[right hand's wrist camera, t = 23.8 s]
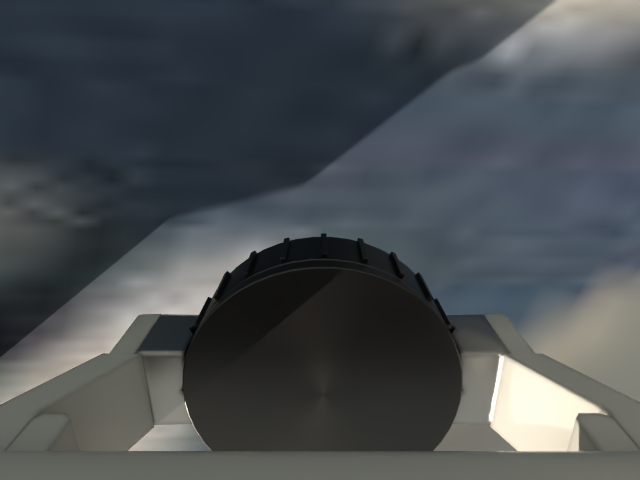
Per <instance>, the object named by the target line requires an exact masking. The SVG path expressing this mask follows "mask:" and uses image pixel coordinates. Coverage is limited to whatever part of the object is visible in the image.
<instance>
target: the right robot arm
mask: <svg viewBox="0 0 640 480" xmlns="http://www.w3.org/2000/svg"><path fill="white" fill-rule="evenodd" d="M198 316H199V315H169V314H164V315H162V314H143V315H139V316H138V317H137V318H136V319H135V321H134V322H133V323H132V324H131V326H130V327H129V328H128V330H127V331H126V332H125V334H124V335H123V336H122V338H121V339H120V340H119V342H118V343H117V344H116V345H115V347H114V348H113V349H112V351H111V352H110V353H109V354H101V355H99V356H97V357H95V358H93V359H91V360H89V361H87V362H85V363H83V364H81V365H79V366H77V367H75V368H73V369H71V370H69V371H67V372H65V373H63V374H61V375H59V376H57V377H55V378H53V379H51V380H49V381H47V382H45V383H43V384H41V385H39V386H37V387H35V388H33V389H31V390H29V391H27V392H25V393H23V394H21V395H19V396H17V397H15V398H13V399H11V400H9V401H7V402H5V403H3V404H1V405H0V480H640V402H638V401H636V400H634V399H632V398H630V397H628V396H626V395H624V394H622V393H620V392H618V391H616V390H614V389H612V388H610V387H608V386H606V385H604V384H602V383H600V382H598V381H596V380H594V379H592V378H590V377H588V376H586V375H584V374H582V373H580V372H578V371H576V370H574V369H572V368H570V367H568V366H566V365H564V364H562V363H560V362H558V361H556V360H554V359H552V358H550V357H548V356H546V355H544V354H535V352H534V351H533V350H532V349H531V347H530V346H529V345H528V343H527V342H526V341H525V340H524V338H523V337H522V336H521V335H520V333H519V332H518V331H517V329H516V328H515V327H514V326H513V324H512V323H511V322H510V320H509V319H508V318H507V317H506V316H505V315H503V314H487V315H446V316H447V318H448V320H449V322H450V324H451V326H452V329H449V331H450V333H451V335H452V337H453V339H454V340H455V343H456V346H457V349H458V352H459V354H460V359H461V365H462V370H463V388H462V395H461V401H460V405H459V408H458V411H457V414H456V417H455V419H454V421H453V423H452V424H479V425H491V428H492V429H494V430H495V431H496V432H497V433H498V434H499V435H500V436H502V437H503V438H504V439H505V440H506V441H507V442H508V443H509V444H511V445H512V446H513V447H514V448H515V449H516V450H517V451H128V450H129V449H130V448H131V447H132V446H133V445H134V444H135V443H137V442H138V441H139V440H140V439H141V438H142V437H143V436H144V435H145V434H147V433H148V432H149V431H150V430H151V429H152V428H153V427H154V425H165V424H192V422H191V420H190V418H189V415H188V412H187V409H186V405H185V402H184V395H183V387H182V380H183V367H184V362H185V356H186V353H187V351H188V348H189V345H190V342H191V340H192V338H193V336H194V334H195V332H196V330H197V328H196V327H194V324H195V322H196V320H197V318H198Z"/></svg>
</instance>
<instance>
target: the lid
mask: <svg viewBox="0 0 640 480" xmlns="http://www.w3.org/2000/svg"><path fill="white" fill-rule="evenodd" d="M433 299H434V298H433V296H432V295H431V293H430V291H429V289H428V287H427V285H426V283H425V281H424V279H423V277H422V276H421V274H420V273H417V274H416V275H415V274H414V273H413V272H412V271H411V270H410V269H409V268H408V267H407V266H406V265H405V264H403V263H402V262H400V261H399V260H398V258H397V256H396V254H395V253H393V252H391V253H390V254H388V253H386V252H384V251H382V250H381V249H378V248H376V247H373V246H370V245H368V244H365V243H364V242H363V239H360V238H358V240H357V241H354V240H350V239H343V238H335V237H326V234H321V237H310V238H302V239H295V240H291V241H290V239H289V238H285V239H284V242H283V243H280V244H277V245H275V246H272V247H269V248H267V249H264V250H262V251H261V252H259V253H256V251H253V252H251V254H250V257H249V258H248V259H247V260H246V261H244V262H243V263H242V264H240V265H239V266H238V267H236V268H235V269H234V270H233V271H232V272H231V273H229V272H228V271H227V272H226V273H225V274H224V276H223V278H222V280H221V282H220V284H219V287H218V289H217V290H216V292H215V294H214V295H213V297H212V298H210V297H208V298H207V300H206V302H205V304H204V306H203V308H202V310H201V312H200V314H199V316H198V318H197V320H196V322H195V324H194V327H196V328H197V330H196V332H195V334H194V336H193V338H192V340H191V342H190V345H189V348H188V351H187V353H186V356H185V362H184V367H183V380H182V387H183V395H184V402H185V405H186V409H187V412H188V415H189V418H190V420H191V422H192V424H193V426H194V428H195V430H196V432H197V433H198V435H199V436H200V438H201V439H202V441H203V442H204V443H205V444H206V446H207V447H208V448H209V449H210V450H211V451H433V450H434V449H435V448H436V447H437V446H438V445H439V444H440V443H441V441H442V440H443V438H444V437H445V435H446V434H447V432H448V431H449V429H450V427H451V425H452V423H453V421H454V419H455V417H456V414H457V411H458V408H459V405H460V401H461V395H462V388H463V370H462V365H461V359H460V354H459V352H458V349H457V346H456V343H455V340H454V339H453V337H452V335H451V333H450V331H449V329H452V326H451V324H450V322H449V320H448V318H447V316H446V314H445V312H444V311H443V309H442V307H441V305H440V303H439V301H438V299H434V300H433Z"/></svg>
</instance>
